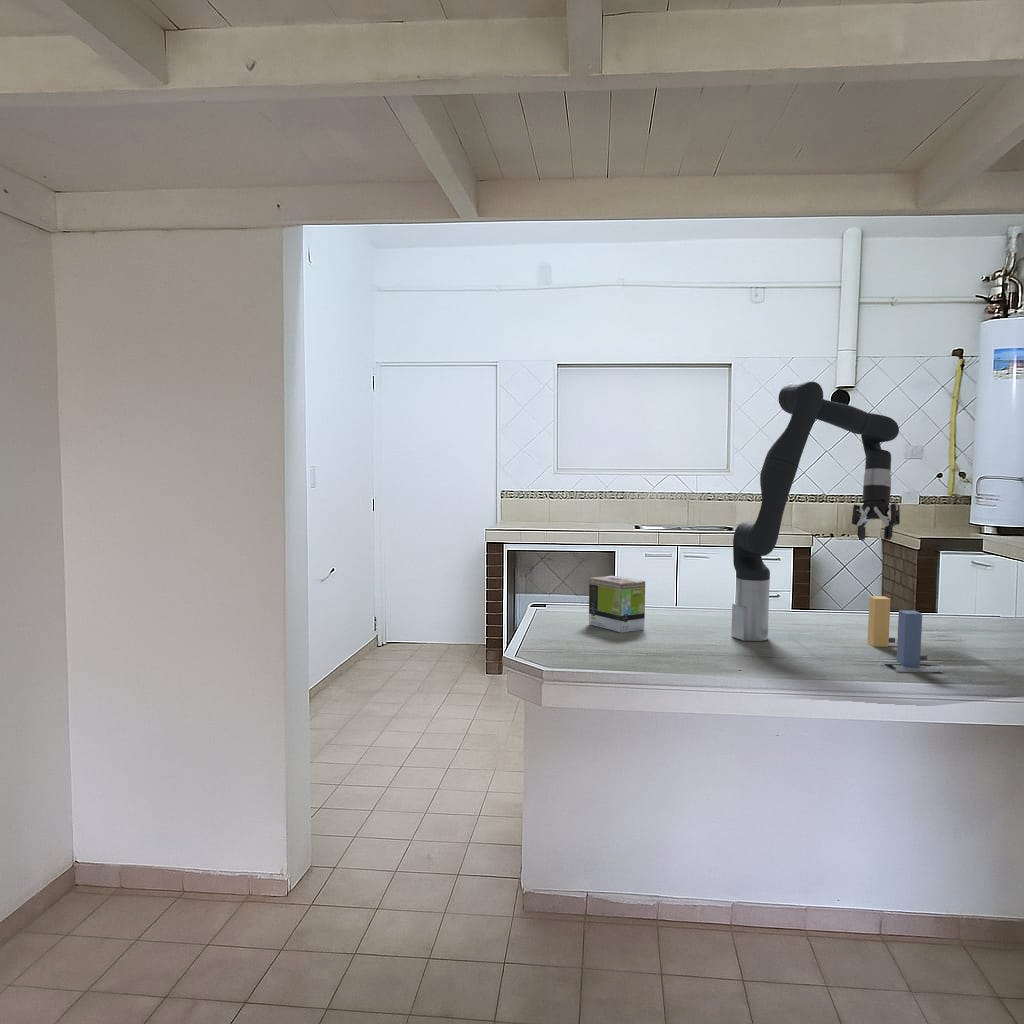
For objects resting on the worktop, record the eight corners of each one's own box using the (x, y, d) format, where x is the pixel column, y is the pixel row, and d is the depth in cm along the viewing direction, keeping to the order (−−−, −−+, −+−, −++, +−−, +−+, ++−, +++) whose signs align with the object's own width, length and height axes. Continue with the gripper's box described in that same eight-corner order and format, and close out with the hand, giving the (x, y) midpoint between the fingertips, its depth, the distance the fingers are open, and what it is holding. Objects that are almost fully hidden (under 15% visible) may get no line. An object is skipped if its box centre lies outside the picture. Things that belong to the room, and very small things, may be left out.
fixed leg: (929, 666, 206) (932, 614, 205) (903, 665, 206) (905, 613, 205) (922, 662, 210) (924, 610, 209) (896, 661, 210) (898, 610, 209)
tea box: (645, 629, 249) (646, 580, 248) (620, 633, 244) (621, 583, 242) (612, 621, 262) (613, 574, 261) (587, 624, 256) (588, 576, 255)
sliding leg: (897, 647, 225) (899, 599, 224) (873, 646, 225) (875, 598, 224) (891, 643, 229) (893, 596, 228) (867, 643, 229) (869, 596, 228)
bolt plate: (942, 672, 204) (942, 668, 204) (896, 671, 204) (896, 667, 204) (897, 647, 230) (897, 643, 230) (856, 646, 230) (856, 642, 230)
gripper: (848, 484, 253) (845, 538, 252) (891, 482, 241) (888, 538, 240) (863, 487, 257) (861, 540, 256) (906, 485, 245) (904, 540, 244)
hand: (874, 539), depth 248 cm, fingers open, 8 cm apart
